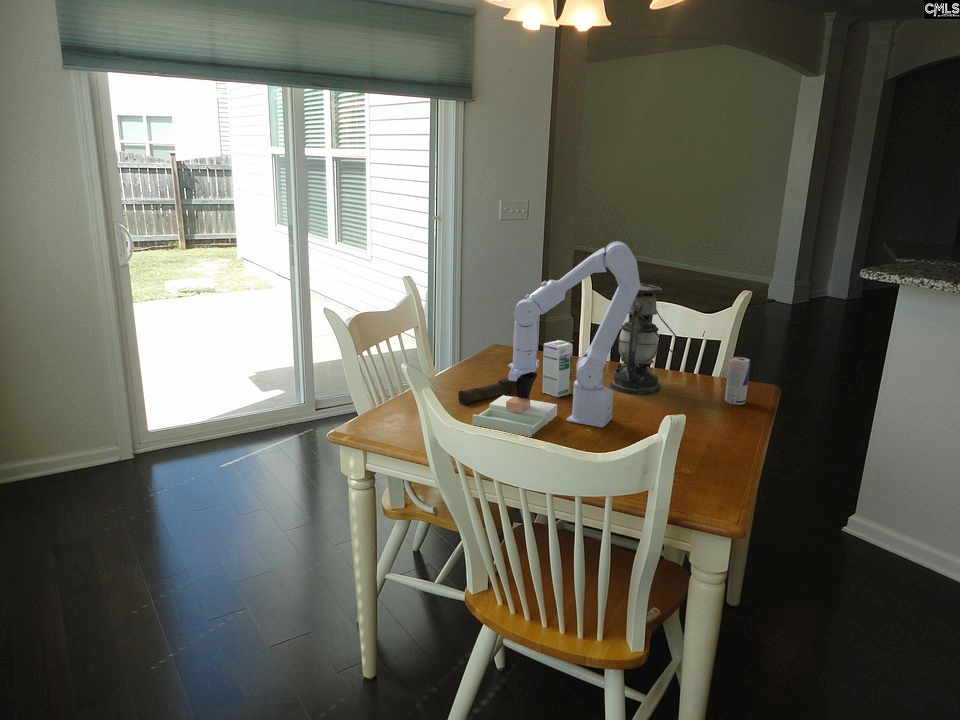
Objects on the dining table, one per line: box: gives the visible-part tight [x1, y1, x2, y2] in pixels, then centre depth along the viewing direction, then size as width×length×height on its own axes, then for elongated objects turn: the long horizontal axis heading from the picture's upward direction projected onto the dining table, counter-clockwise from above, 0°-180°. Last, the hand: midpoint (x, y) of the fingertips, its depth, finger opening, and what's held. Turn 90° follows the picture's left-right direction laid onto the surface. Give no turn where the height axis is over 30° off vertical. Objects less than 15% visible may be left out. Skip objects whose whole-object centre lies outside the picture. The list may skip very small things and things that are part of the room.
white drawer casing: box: [488, 395, 558, 426], centre depth 176 cm, size 15×8×3 cm, turn 63°
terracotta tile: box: [506, 396, 531, 412], centre depth 173 cm, size 4×4×2 cm
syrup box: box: [542, 339, 573, 398], centre depth 192 cm, size 6×6×14 cm
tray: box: [471, 407, 546, 438], centre depth 169 cm, size 15×9×3 cm, turn 63°
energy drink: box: [724, 356, 751, 406], centre depth 188 cm, size 5×5×12 cm
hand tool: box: [457, 377, 517, 406], centre depth 189 cm, size 19×4×5 cm, turn 125°
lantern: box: [609, 282, 682, 396], centre depth 196 cm, size 19×19×30 cm
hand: (523, 401), depth 175 cm, fingers closed
